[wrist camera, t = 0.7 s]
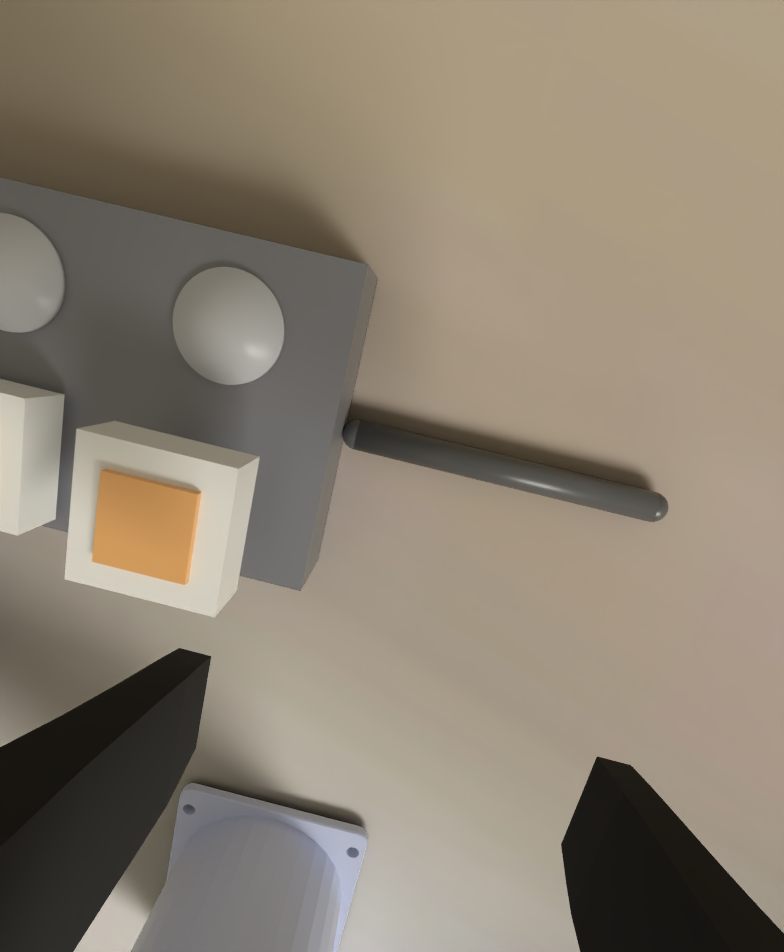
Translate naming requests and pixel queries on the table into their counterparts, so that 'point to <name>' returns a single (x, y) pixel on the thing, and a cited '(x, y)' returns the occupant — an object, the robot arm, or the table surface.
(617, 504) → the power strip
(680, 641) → the table surface
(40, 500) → the button
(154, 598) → the button
